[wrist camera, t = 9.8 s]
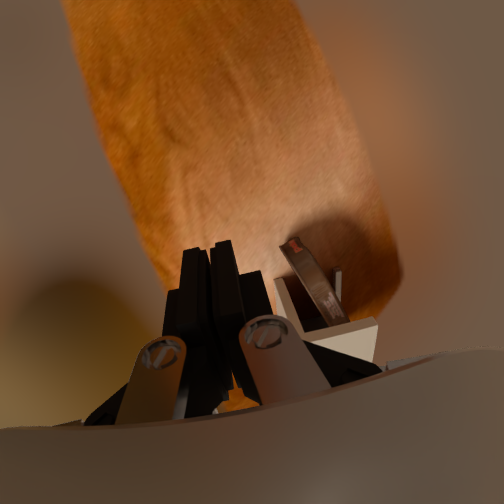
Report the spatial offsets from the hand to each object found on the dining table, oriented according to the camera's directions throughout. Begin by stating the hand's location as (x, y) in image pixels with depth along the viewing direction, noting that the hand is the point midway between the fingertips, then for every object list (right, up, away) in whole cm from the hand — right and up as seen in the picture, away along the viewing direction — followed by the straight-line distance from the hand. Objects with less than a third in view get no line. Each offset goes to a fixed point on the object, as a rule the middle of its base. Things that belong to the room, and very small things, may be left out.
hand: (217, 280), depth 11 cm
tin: (+9, -2, +31) cm, 32 cm away
